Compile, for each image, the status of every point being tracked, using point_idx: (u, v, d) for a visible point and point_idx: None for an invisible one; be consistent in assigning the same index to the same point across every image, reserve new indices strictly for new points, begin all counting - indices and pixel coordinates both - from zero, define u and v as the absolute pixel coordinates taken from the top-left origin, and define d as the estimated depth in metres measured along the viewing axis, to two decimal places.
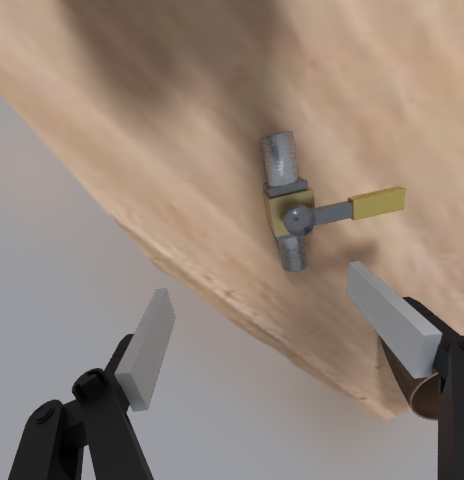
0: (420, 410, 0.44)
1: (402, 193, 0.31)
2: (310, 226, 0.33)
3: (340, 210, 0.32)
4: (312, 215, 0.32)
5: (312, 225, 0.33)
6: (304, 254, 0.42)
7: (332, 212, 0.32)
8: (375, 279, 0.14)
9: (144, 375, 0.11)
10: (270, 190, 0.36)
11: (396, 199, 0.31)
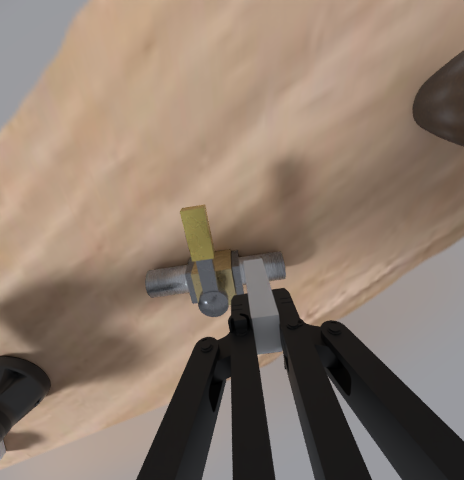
0: None
1: (185, 213, 0.28)
2: (218, 296, 0.33)
3: (203, 270, 0.31)
4: (207, 295, 0.33)
5: (217, 295, 0.32)
6: (267, 263, 0.38)
7: (205, 277, 0.32)
8: (262, 273, 0.16)
9: None
10: (193, 302, 0.39)
11: (192, 218, 0.28)
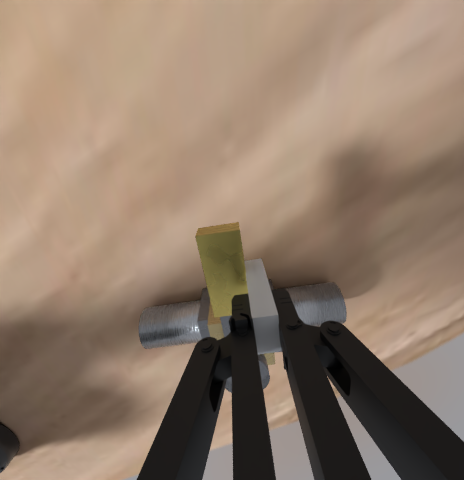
0: None
1: (205, 239, 0.15)
2: None
3: None
4: None
5: None
6: (319, 303, 0.26)
7: None
8: (262, 273, 0.16)
9: None
10: None
11: (217, 247, 0.16)
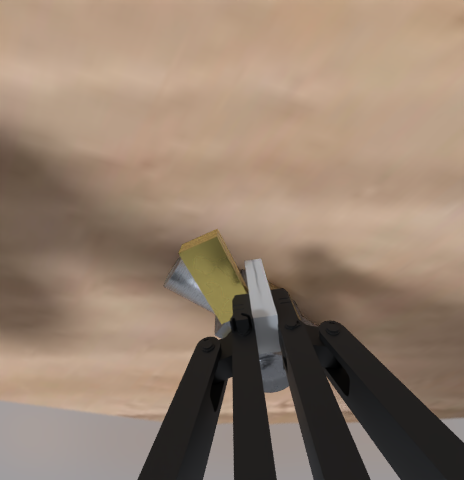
0: None
1: (188, 254, 0.16)
2: (276, 363, 0.20)
3: None
4: None
5: (274, 361, 0.20)
6: None
7: None
8: (261, 273, 0.16)
9: None
10: (216, 334, 0.25)
11: (202, 258, 0.16)
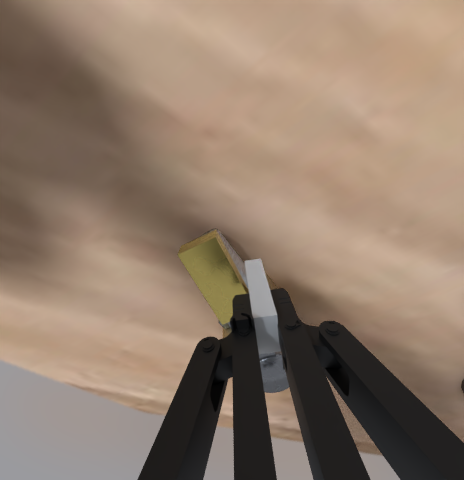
0: None
1: (187, 255, 0.16)
2: (278, 363, 0.20)
3: None
4: None
5: (276, 361, 0.20)
6: None
7: None
8: (261, 273, 0.16)
9: None
10: None
11: (201, 259, 0.16)
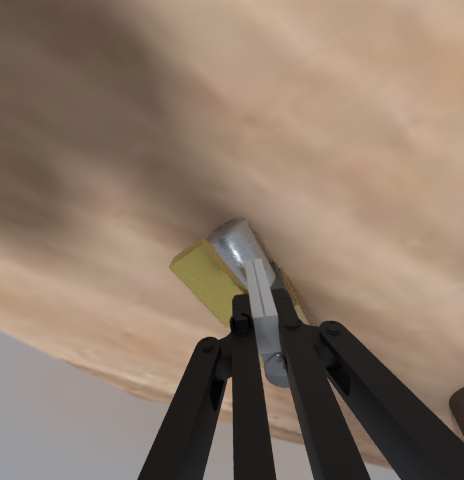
0: None
1: (178, 266, 0.16)
2: None
3: None
4: (273, 362, 0.20)
5: None
6: None
7: None
8: (261, 273, 0.16)
9: None
10: None
11: (192, 268, 0.16)
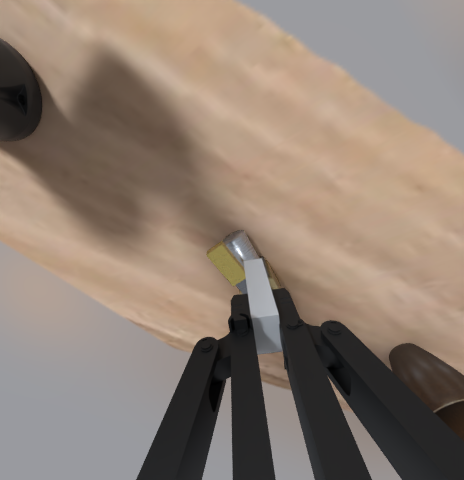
0: None
1: (210, 254, 0.35)
2: None
3: (244, 289, 0.37)
4: None
5: None
6: None
7: None
8: (262, 273, 0.16)
9: None
10: None
11: (217, 255, 0.35)
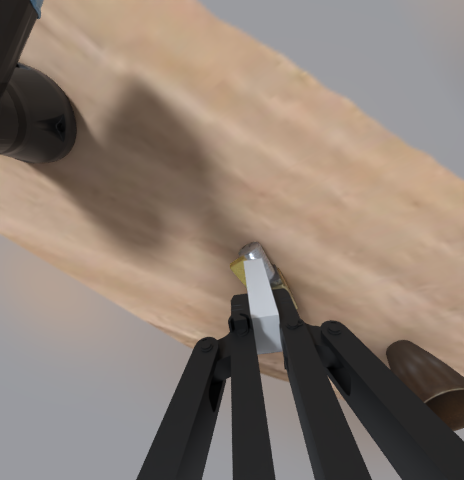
0: None
1: (234, 267, 0.39)
2: None
3: None
4: None
5: None
6: None
7: None
8: (262, 273, 0.16)
9: None
10: None
11: (239, 268, 0.39)
